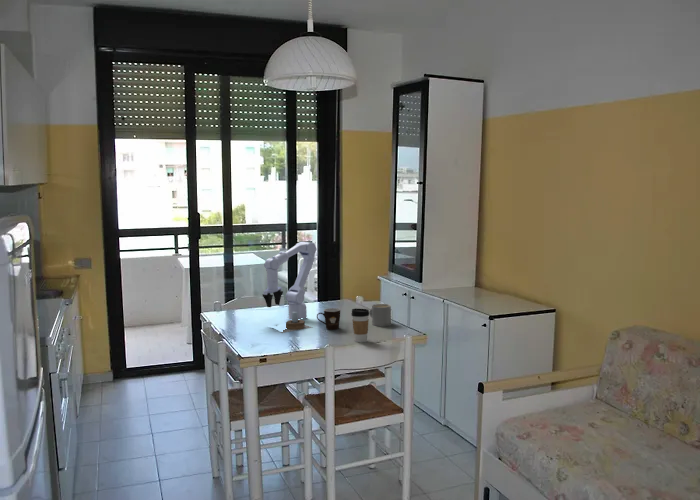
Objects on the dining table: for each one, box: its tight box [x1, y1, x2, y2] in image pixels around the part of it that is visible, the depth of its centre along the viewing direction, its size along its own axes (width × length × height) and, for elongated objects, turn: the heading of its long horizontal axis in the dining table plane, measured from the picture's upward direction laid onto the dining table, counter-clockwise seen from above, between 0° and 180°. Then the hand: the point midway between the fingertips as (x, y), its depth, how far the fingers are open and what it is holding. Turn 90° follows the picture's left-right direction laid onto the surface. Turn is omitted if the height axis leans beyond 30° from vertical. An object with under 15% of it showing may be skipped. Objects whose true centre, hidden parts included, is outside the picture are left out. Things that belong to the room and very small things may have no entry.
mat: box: [280, 324, 314, 334], centre depth 301 cm, size 18×18×1 cm
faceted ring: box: [285, 319, 306, 331], centre depth 300 cm, size 9×9×3 cm
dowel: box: [292, 312, 298, 323], centre depth 300 cm, size 3×3×8 cm
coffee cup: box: [351, 308, 370, 343], centre depth 271 cm, size 8×8×15 cm
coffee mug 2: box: [369, 303, 392, 327], centre depth 305 cm, size 13×10×10 cm
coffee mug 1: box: [316, 307, 341, 331], centre depth 296 cm, size 12×9×10 cm
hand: (273, 305), depth 309 cm, fingers open, 7 cm apart
